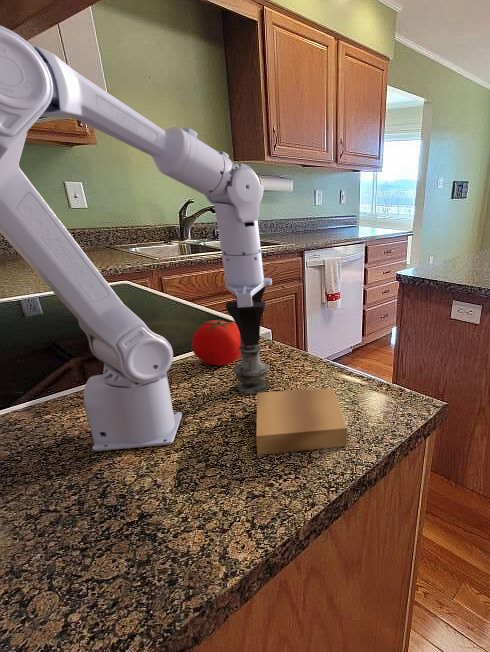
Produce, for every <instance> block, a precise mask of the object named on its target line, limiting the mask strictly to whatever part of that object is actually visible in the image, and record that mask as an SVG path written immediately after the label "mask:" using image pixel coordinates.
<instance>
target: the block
mask: <svg viewBox="0 0 490 652" xmlns="http://www.w3.org/2000/svg"><path fill="white" fill-rule="evenodd" d="M255 421H256V424H255V425H256V426H255V427H256V429H255V439H256V455H257V456H261V455H262V456H263V455H271V454H281V453H291V452H301V451H303V452H304V451H312V450H321V449H331V448H341V447H347V446H348V426H347V423H346V421H345V417H344V414H343V412H342V409H341V406H340V403H339V400H338V398H337V394H336V392H335V389H334V387H328V388H327V387H326V388H309V389H296V390H280V391H279V390H278V391H267V392H266V391H262V392H259V393H256V420H255Z"/></svg>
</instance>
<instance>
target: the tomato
mask: <svg viewBox="0 0 490 652" xmlns="http://www.w3.org/2000/svg"><path fill="white" fill-rule="evenodd" d="M203 322H204V323H202V324H201V325H200V326H199V327H198V328H197V329H196V330H195V332H194V334H193V335H192V340H191V349H192V353H193V355H195V357H196V358H198V359H199V360H200V361H202V362H203V363H205V364H207V365H212V366H217V367H219V366H225V365H230V364H232V363H233V362H235V361H237V360H239V358H241V351H240V350H239V347H240V346H241V341H240V332H239V329H238V327H237V324H236V323H235V321H226V320H225V321H224V320H221V319H218V320H217V319H215V320H208V321H206V320H203Z"/></svg>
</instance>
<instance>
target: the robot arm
mask: <svg viewBox="0 0 490 652" xmlns="http://www.w3.org/2000/svg"><path fill="white" fill-rule="evenodd" d="M40 118H53V119H56V118H57V119H73V120H77V121H79V122H81V123H83V124H84V125H87V126H88V127H91V128H93V129H95V130H97V131H99V132H101V133H103V134H105V135H107V136H109V137H111V138H114V139H116V140H118V141H120V142H122V143H124V144H126V145H128V146H130V147H132V148H134V149H136V150H138V151H140V152H142V153H145V154H147V155H149V156H150V157H151V158H152V160H153V162H154V164H155V167H156V168H157V169H158V171H159V173H161V174H162V175H164V176H167V177H169V178H171V179H172V180H174V181H176V182H179V183H180V184H182V185H184V186H187V187H188V188H190V189H192V190H194V191H196V192H198V193H200V194H202V195H204V197H205V198H206V200H207V201H208V202H209V203H210V204H211V205H214V206H213V207H214V212H215V219H216V224H217V231H218V237H219V238H218V239H219V245H220V251H221V258H222V265H223V271H224V279H225V281H224V288H225V289H226V290H227V291H229V292H230V293H231V294H232V295H233V296H234V298H235V300H236V301H227V302H226V304H225V309H226V311H227V313H228V314H229V315H230V317H231V318H232V319H233V322H234V323H236V324H237V327H238V329H239V332H240V335H241V337H242V340H243V342H244V344H245V346H250V345H260V335H261V321H262V317H263V314H264V312H265V309H266V306H267V302H266V301H262V299H263V296H264V292H265V291H266V286H272V285H273V280H272V279H273V278H271V277H265V275H264V267H263V257H262V248H261V239H260V230H259V222H258V221H259V217H260V204H261V202H262V200H263V198H264V197H263V196H264V191H265V190H264V185H263V184H261V182H260V179H259V176H258V175H257V174H256V172H255V170H254V169H253V168H252V167H251V166H249V165H247V164H244V163H233V162H232V161H231V159H230V157H229V154H228V153H226V152H225V151H224V150H220V151H219V150H218V151H217V150H216V149H214V148H212V147H210V146H209V145H208V144H206V143H205V142H204V141H201V140H200V139H198V132H197V131H195V130H193V129H192V128H190V127H182V128H181V127H179V126H172V127H169V128H166V129H163V128H161V127H160V126H158V125H157V124H155V122H153V121H151V120H149V119H148V118H146V117H145V116H144V115H142V114H140V113H139V112H137V111H136V110H134V109H133V108H132V107H130V106H128V105H127V104H125V103H124V102H123V101H121V100H120V99H119V98H116V97H115V96H113V95H112V94H110V93H109V92H107V91H106V90H104V89H102V88H101V87H100V86H99V85H97V84H95V83H94V82H93V81H91V80H89V78H86V77H85V76H83V75H82V74H80V73H79V72H77V71H76V70H74V69H73V68H72V67H71V66H69V65H68V64H67V63H65V62H64V61H63V60H62V59H60V57H58V56H57V55H55V54H54V53H53V52H50V51H48V50H46V49H44V48H41V47H40V46H37V45H35V46H33V45H31V43H29V42H28V41H26V39H24V37H22V36H21V35H19V34H18V33H16V32H14V31H13V30H11V29H10V28H6V27H4V26H3V25H0V234H1V235H2V236H3V238H5V239H6V241H7V242H8V243H9V244H10V245H11V246H12V248H13V249H15V251H16V252H17V253H18V254H19V255H20V257H21V258H22V259H23V260H24V261H25V262H26V263H27V264H28V265H29V266H30V268H31V269H32V270H33V271H34V272H35V273H36V275H38V277H39V278H40V279H41V280H42V282H44V284H45V285H46V286H47V287H48V288H49V289H50V290H51V292H53V294H54V295H55V296H56V297H57V298H58V299H59V300H60V301H61V302H62V304H63V305H64V306H65V307H66V308H67V309H68V310H69V311H70V313H71V314H72V315H73V316H74V317H75V318H76V319H77V322H78V327H79V328H80V329H81V330H82V332H84V334H85V335H86V337H87V340H88V345H89V349H90V351H91V353H92V354H93V356H94V357H95V358H96V359H98V360H99V361H101V362H103V371H102V374H96V375H91V376H90V377H89V378H88V379H87V381H86V383H85V385H84V390H83V404H84V411H85V413H86V418H87V421H88V426H89V429H90V433H91V436H92V440H93V446H92V451H94V452H101V451H102V452H103V451H112V450H113V451H115V450H124V449H135V448H136V449H137V448H145V447H147V448H148V447H159V446H167V445H168V446H169V445H172V444H174V440H175V439H176V434H177V432H178V429H179V427H180V423H181V420H182V418H183V412H182V411H174V409H173V402H172V396H171V390H170V384H169V377H168V371H169V369H170V368H171V366H172V364H173V359H174V351H173V347H172V345H171V343H170V342H169V340H167V339H166V338H165V337H164V336H162V335H159V334H158V333H155V332H154V331H152V330H151V329H150V328H149V327H148V326H147V324H146V323H145V322H144V321H143V320H142V318H140V317H139V316H138V315H137V314H136V313H134V312H133V311H132V310H131V309H130V308H129V307H128V306H127V305H126V304H124V303H123V301H122V300H121V298H120V297H119V296H118V294H117V293H116V292H115V291H114V290H113V288H112V287H111V286H110V284H109V283H108V281H107V280H106V278H104V276H103V275H102V274H101V272H100V271H99V270H98V268H97V267H96V266H95V264H94V263H93V262H92V261H91V259H90V258H89V257H88V255H87V254H86V253H85V252H84V250H83V249H82V248H81V246H80V245H79V244H78V242H77V241H76V240H75V239H74V237H73V236H72V234H71V233H70V232H69V231H68V229H67V228H66V226H65V225H64V224H63V223H62V221H61V220H60V219H59V218H58V216H57V215H56V213H55V212H54V211H53V209H52V208H51V207H50V206H49V204H48V203H47V201H46V200H45V199H44V198H43V197H42V195H41V194H40V192H39V191H38V190H37V189H36V188H35V187H34V185H33V183H32V182H31V180H29V178H28V177H27V175H26V174H25V173H24V172H23V170H22V169H21V167H20V161H21V157H22V153H23V151H24V146H25V142H26V139H27V136H28V132H29V130H30V129H31V128H32V126H33V125H34V124H35V123H36V122H37V121H38V119H40Z"/></svg>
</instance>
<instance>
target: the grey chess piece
mask: <svg viewBox="0 0 490 652" xmlns="http://www.w3.org/2000/svg"><path fill="white" fill-rule="evenodd" d="M240 341H241V346H240V347H239V350H240V351H241V356H240V359H241V360H240V363H238V364H236V365H235V366H234V367H233V370H232V371H233V373H234V374H235V377H236V378H237V380H238V381H239V383H238V384H237V385H236V391H238V392H239V393H241V394H246V395H253V394H257V393H262V392H265V391H266V390H267V389H268V387H269V384H268V382H267V381H265V379H266V377H267V375H268V371H269V370H270V367H269V365H268V364H267V363H265V362H262V360H261V358H260V356H261V355H260V350H261V349H262V346H261V345H260V344H258V345H250V346H245V344H244V342H243V340H242V337H241V335H240Z"/></svg>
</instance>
